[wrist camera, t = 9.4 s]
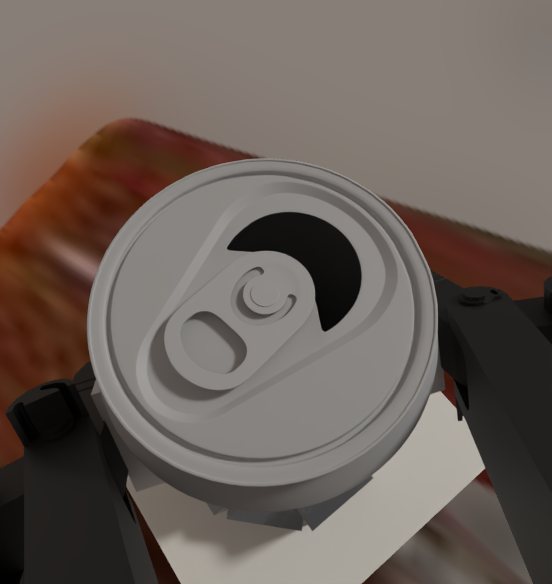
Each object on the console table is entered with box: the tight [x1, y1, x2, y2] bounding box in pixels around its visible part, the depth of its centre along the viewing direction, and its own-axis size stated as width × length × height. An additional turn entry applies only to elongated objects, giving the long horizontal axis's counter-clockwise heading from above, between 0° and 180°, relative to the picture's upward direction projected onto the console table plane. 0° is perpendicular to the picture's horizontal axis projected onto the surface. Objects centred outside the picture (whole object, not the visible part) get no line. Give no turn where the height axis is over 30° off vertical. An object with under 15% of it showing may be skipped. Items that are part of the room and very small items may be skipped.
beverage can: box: [87, 158, 438, 512], centre depth 13 cm, size 6×6×12 cm
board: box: [126, 391, 485, 584], centre depth 27 cm, size 18×18×2 cm
